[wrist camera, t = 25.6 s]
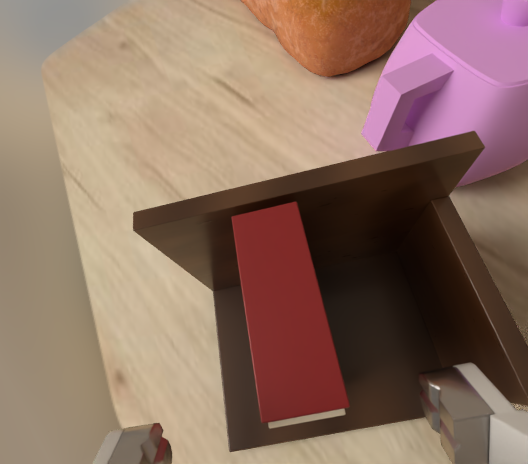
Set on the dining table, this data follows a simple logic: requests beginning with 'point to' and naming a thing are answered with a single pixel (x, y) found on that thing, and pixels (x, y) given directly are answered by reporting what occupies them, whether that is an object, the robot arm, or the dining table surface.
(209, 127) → the dining table surface
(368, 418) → the book stand
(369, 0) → the bread
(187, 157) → the dining table surface
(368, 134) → the teapot
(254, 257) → the book
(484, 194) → the dining table surface
